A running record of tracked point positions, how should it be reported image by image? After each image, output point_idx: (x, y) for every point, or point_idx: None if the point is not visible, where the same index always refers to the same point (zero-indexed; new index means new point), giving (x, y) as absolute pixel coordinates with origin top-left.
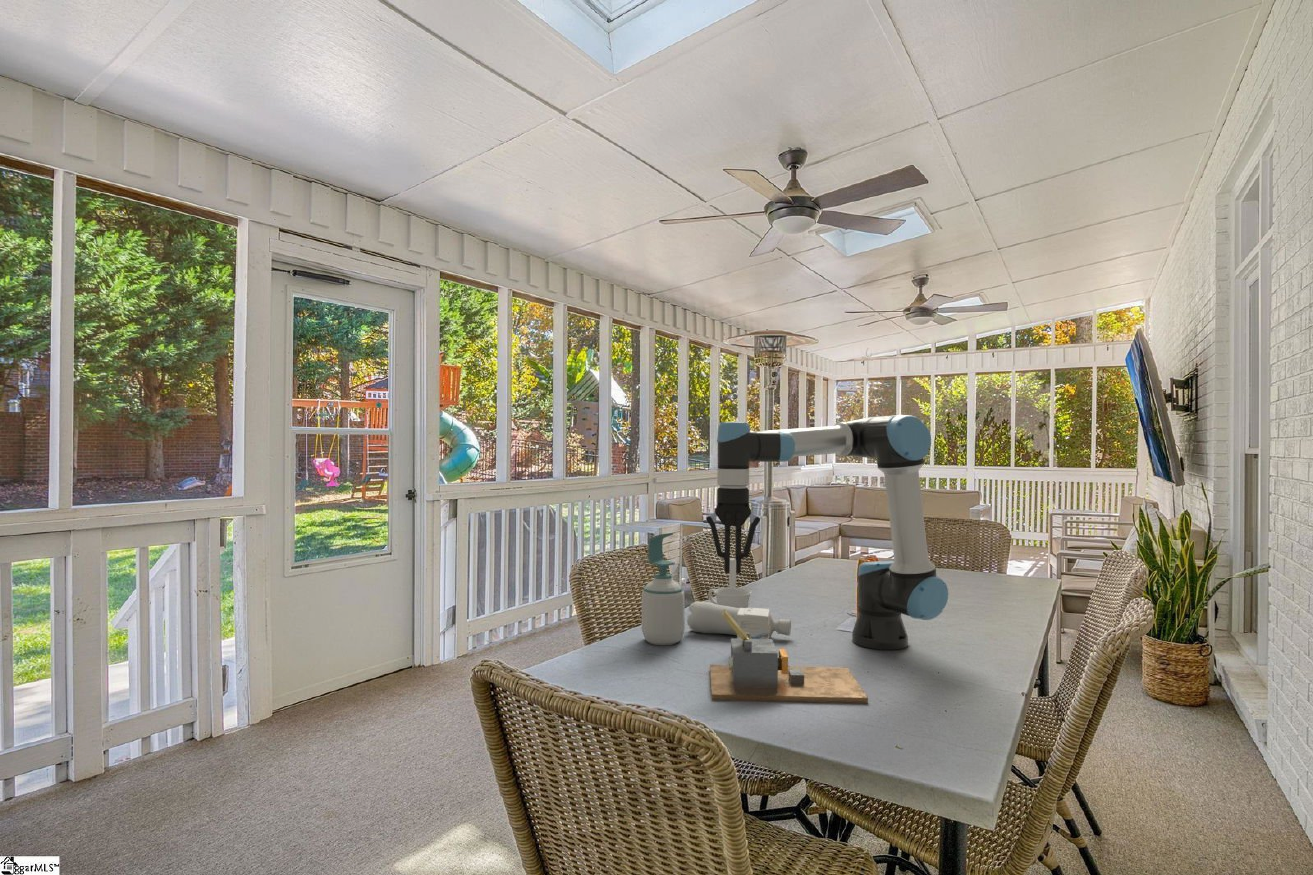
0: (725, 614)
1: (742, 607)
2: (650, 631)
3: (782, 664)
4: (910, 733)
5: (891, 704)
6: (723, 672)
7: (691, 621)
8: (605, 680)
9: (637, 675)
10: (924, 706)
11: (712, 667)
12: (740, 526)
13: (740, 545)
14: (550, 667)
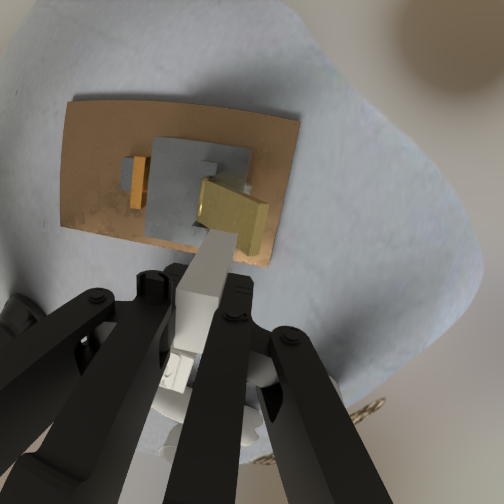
0: (259, 203)
1: (175, 434)
2: (335, 385)
3: (150, 156)
4: (72, 21)
5: (50, 102)
6: None
7: (258, 416)
8: (433, 240)
9: (389, 254)
10: (26, 101)
11: (266, 254)
12: (12, 490)
13: (103, 351)
14: (470, 297)
